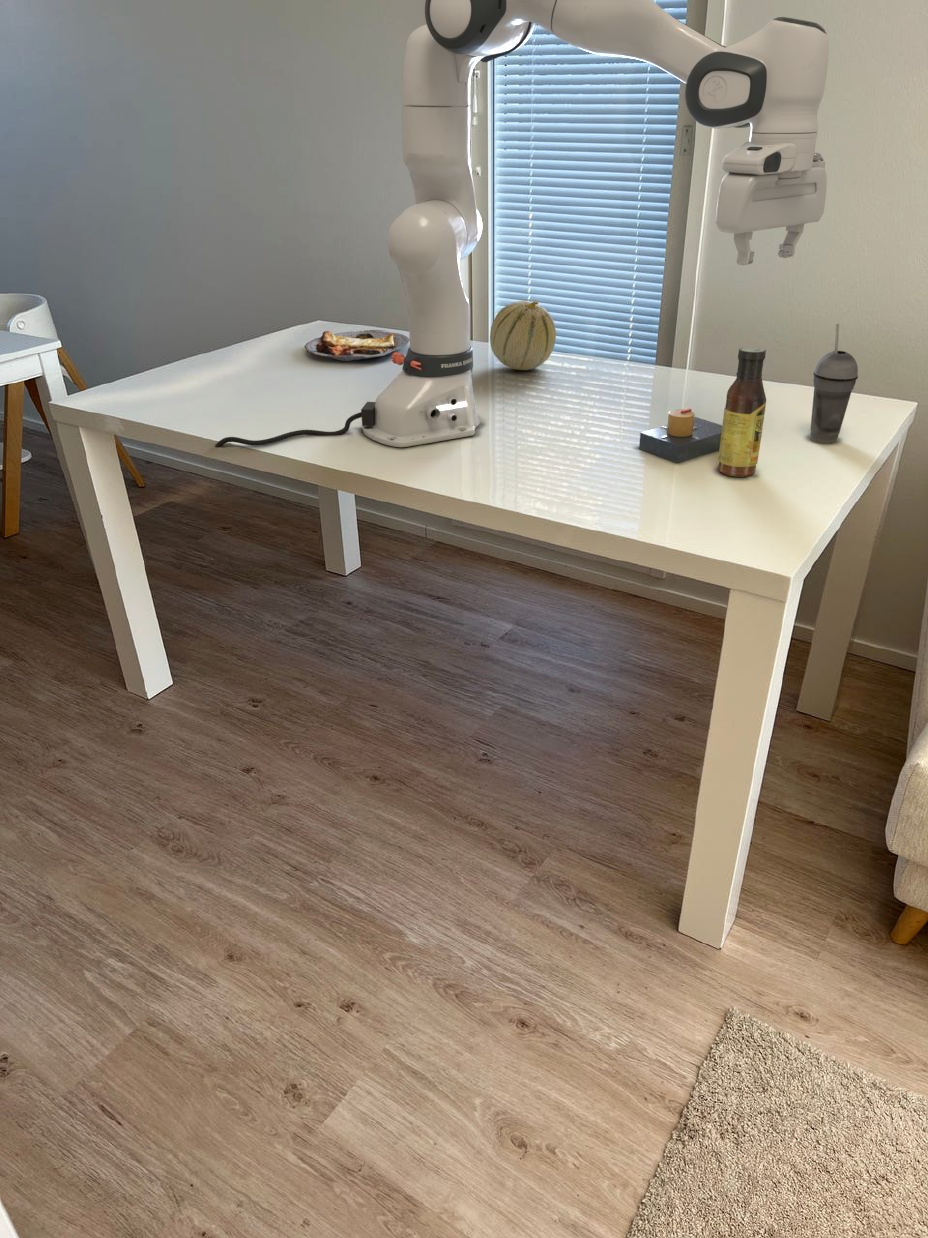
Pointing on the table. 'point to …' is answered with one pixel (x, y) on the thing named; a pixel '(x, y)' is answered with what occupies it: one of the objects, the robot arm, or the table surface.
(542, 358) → the cantaloupe
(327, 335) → the food plate
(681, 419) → the tan cylinder
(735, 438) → the sauce bottle
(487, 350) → the table surface
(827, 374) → the beverage cup
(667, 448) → the grey dial panel
